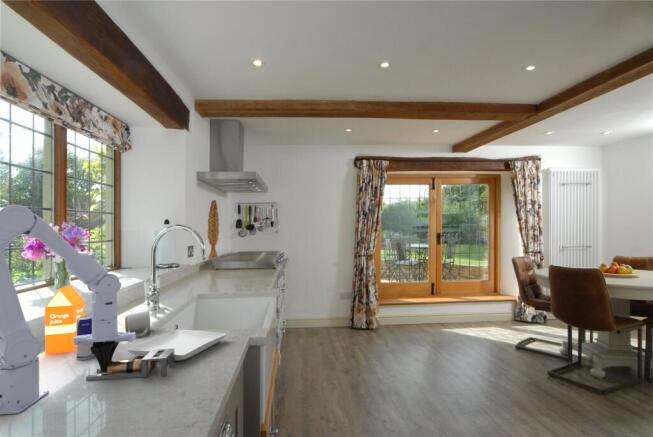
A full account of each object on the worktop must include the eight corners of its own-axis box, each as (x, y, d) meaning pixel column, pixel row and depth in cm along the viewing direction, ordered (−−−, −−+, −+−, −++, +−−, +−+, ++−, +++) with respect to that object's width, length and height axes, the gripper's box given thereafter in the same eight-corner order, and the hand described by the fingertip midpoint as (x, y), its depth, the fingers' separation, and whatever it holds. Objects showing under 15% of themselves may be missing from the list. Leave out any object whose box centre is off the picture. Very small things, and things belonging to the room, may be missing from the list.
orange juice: (85, 342, 119) (84, 283, 119) (73, 351, 110) (72, 288, 111) (58, 345, 117) (57, 285, 117) (44, 354, 108) (43, 289, 108)
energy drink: (87, 361, 102) (86, 320, 102) (71, 360, 103) (71, 319, 103) (102, 354, 107) (101, 315, 107) (87, 353, 108) (87, 314, 108)
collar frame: (165, 376, 90) (165, 358, 90) (84, 381, 88) (84, 363, 88) (174, 365, 97) (174, 348, 97) (99, 370, 95) (99, 352, 95)
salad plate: (175, 337, 123) (175, 327, 123) (227, 342, 116) (227, 332, 117) (124, 360, 103) (124, 348, 103) (183, 367, 96) (183, 355, 96)
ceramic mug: (125, 332, 129) (125, 311, 129) (150, 328, 133) (149, 308, 133) (125, 340, 120) (124, 318, 120) (151, 336, 124) (151, 315, 124)
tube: (106, 376, 90) (107, 362, 91) (113, 372, 94) (114, 359, 94) (147, 373, 91) (147, 360, 92) (152, 370, 95) (152, 356, 95)
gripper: (140, 313, 97) (140, 362, 97) (84, 315, 95) (84, 365, 95) (128, 320, 90) (129, 373, 90) (68, 323, 88) (68, 377, 88)
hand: (105, 370), depth 92 cm, fingers closed
